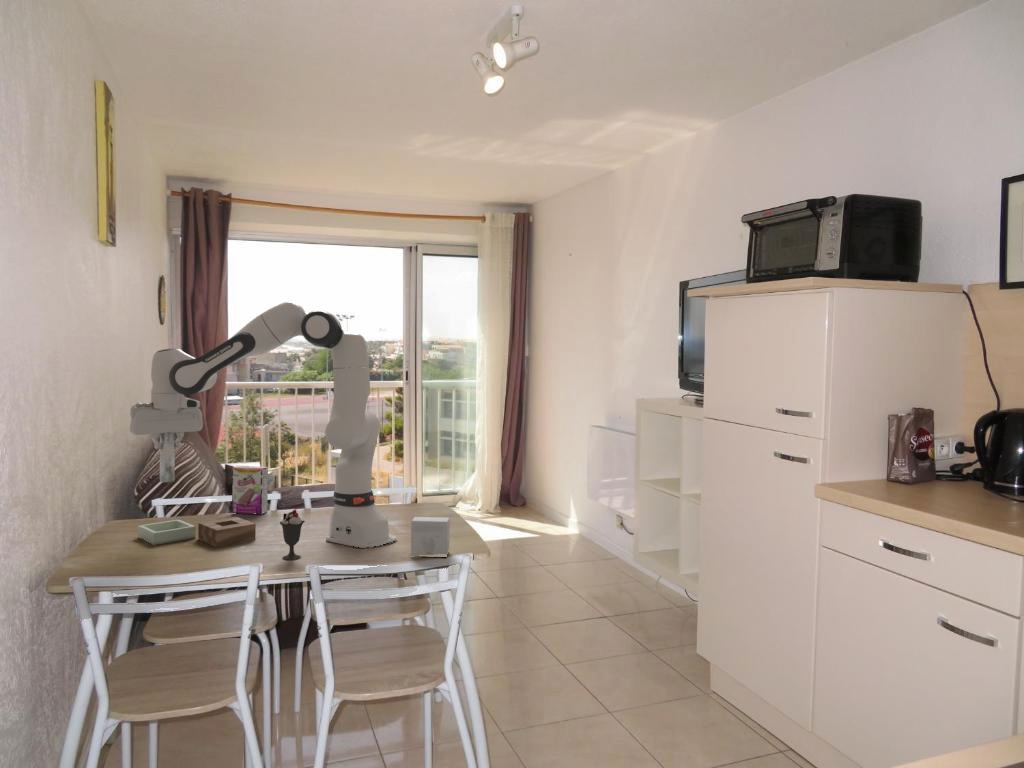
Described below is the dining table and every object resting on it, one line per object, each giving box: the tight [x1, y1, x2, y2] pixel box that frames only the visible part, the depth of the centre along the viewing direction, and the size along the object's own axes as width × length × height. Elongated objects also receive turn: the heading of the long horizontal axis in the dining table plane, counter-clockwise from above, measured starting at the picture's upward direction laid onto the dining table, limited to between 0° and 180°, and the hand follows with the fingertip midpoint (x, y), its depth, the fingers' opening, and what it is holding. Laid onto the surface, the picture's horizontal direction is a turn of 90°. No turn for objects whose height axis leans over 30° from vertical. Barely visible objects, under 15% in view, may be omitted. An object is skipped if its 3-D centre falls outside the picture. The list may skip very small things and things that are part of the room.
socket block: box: [197, 516, 257, 548], centre depth 213 cm, size 12×12×5 cm
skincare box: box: [410, 516, 451, 557], centre depth 203 cm, size 10×6×10 cm, turn 89°
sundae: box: [279, 504, 305, 561], centre depth 196 cm, size 7×7×15 cm
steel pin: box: [159, 432, 176, 483], centre depth 213 cm, size 4×4×15 cm
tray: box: [137, 519, 197, 546], centre depth 214 cm, size 12×12×4 cm
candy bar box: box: [231, 465, 269, 515], centre depth 248 cm, size 11×5×16 cm, turn 84°
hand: (167, 447), depth 213 cm, fingers closed on steel pin, 4 cm apart
